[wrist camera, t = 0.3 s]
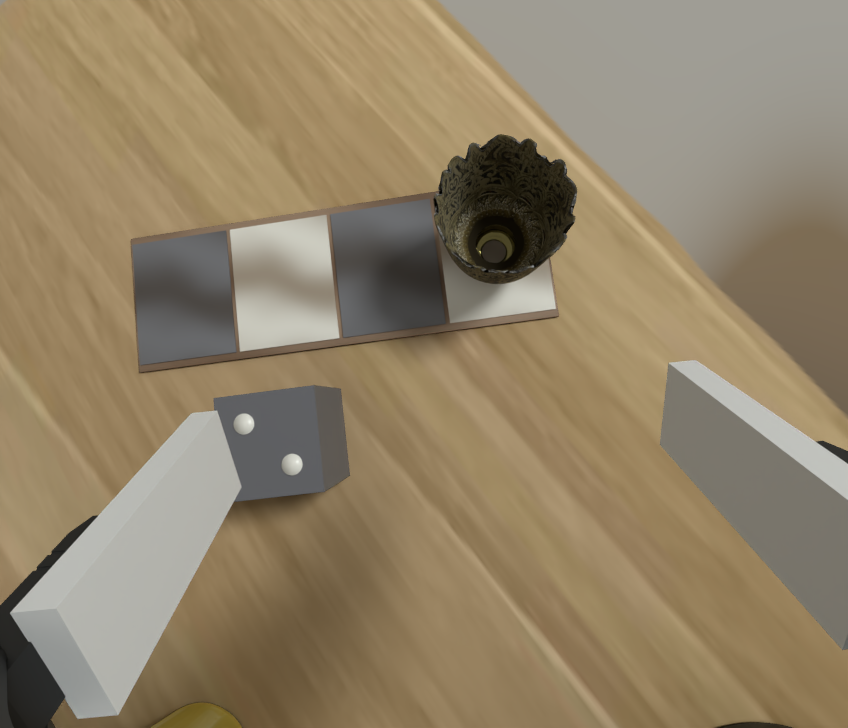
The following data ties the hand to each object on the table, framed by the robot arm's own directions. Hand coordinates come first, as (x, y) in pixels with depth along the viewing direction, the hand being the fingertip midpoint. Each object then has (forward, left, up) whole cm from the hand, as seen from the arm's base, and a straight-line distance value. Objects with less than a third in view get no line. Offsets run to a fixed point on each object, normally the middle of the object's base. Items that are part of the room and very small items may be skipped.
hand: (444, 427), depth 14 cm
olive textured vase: (+11, -4, -18) cm, 21 cm away
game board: (+11, +7, -18) cm, 22 cm away
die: (0, +11, -18) cm, 21 cm away
